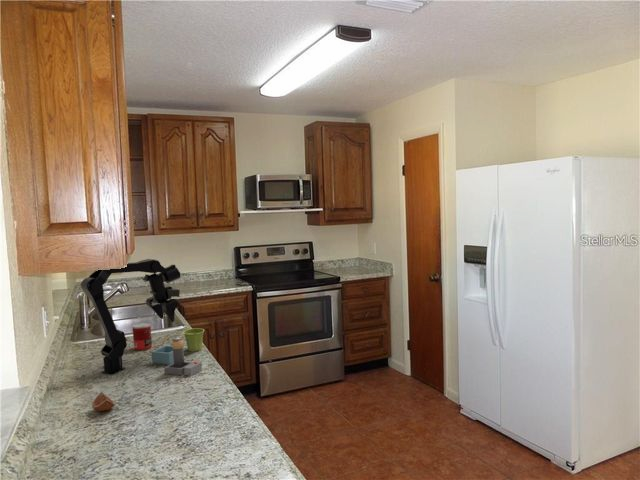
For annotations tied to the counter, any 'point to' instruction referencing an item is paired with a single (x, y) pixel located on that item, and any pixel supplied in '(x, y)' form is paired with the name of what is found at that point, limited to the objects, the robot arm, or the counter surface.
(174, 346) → the battery cell
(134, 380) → the counter surface
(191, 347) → the plant pot
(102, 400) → the brown lump
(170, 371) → the tester
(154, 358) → the bin
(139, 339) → the canned food
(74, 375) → the counter surface
